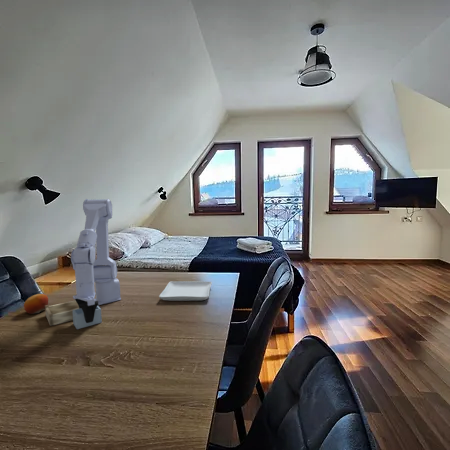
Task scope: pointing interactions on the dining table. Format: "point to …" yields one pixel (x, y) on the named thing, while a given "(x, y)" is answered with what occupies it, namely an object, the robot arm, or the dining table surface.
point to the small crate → (80, 319)
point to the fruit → (36, 303)
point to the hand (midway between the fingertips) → (87, 319)
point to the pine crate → (60, 312)
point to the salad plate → (186, 291)
